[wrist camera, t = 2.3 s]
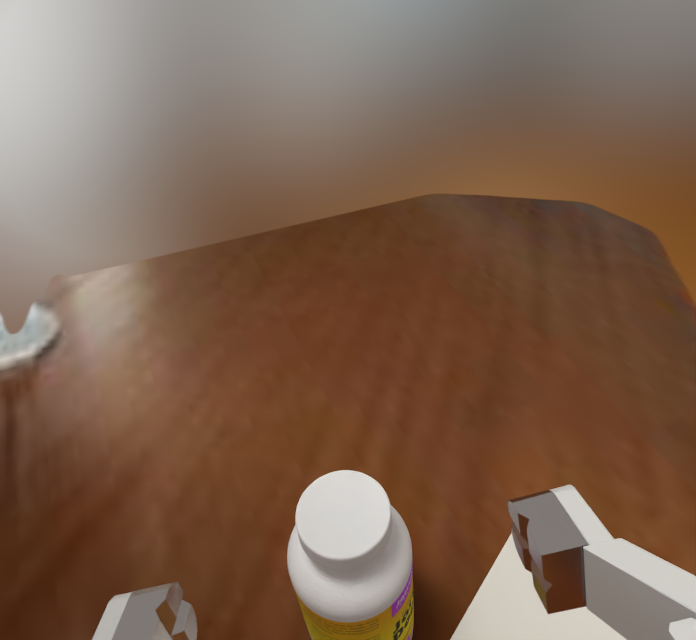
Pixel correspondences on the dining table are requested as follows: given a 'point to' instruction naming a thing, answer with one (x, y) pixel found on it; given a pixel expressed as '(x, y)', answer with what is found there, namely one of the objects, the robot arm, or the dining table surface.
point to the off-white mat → (523, 609)
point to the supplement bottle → (351, 561)
